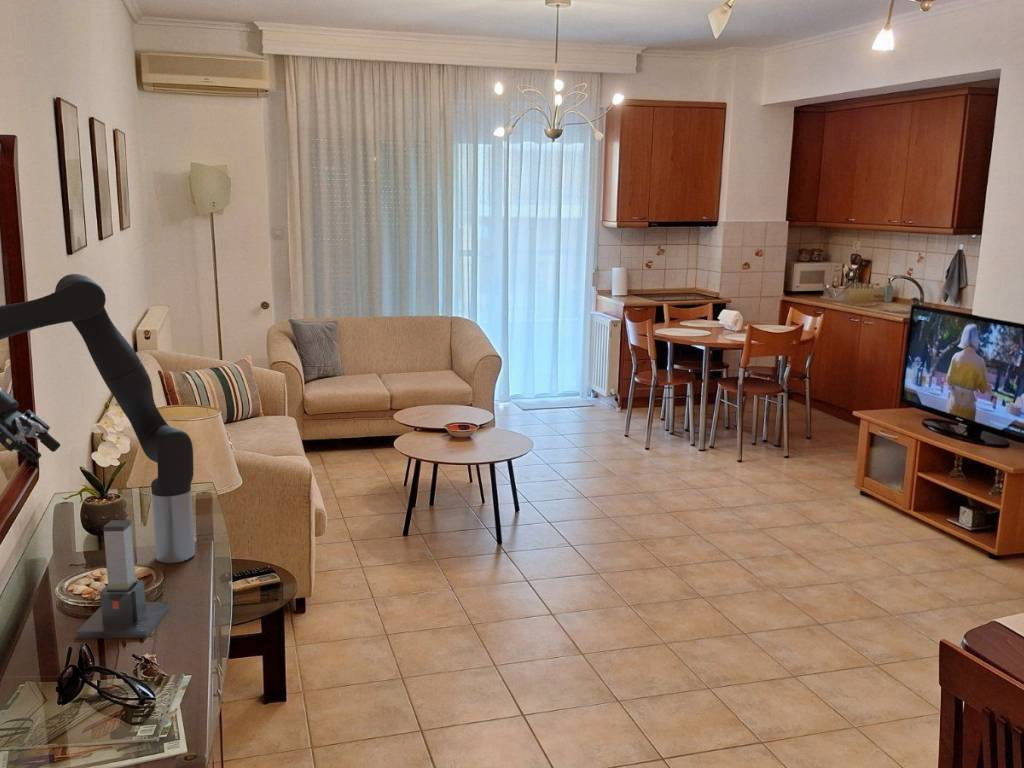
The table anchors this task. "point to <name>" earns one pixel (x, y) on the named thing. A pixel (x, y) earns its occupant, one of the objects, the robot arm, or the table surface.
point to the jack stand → (124, 615)
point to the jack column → (119, 556)
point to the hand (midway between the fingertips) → (47, 453)
